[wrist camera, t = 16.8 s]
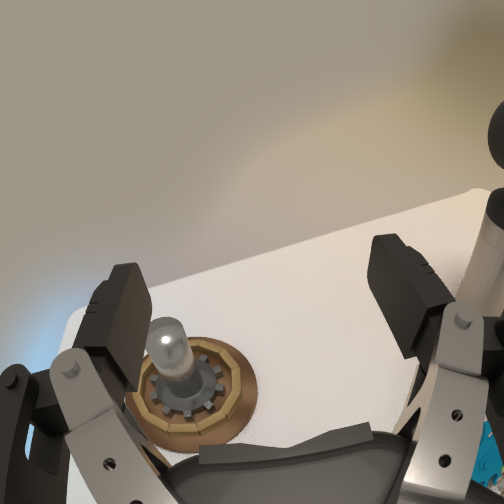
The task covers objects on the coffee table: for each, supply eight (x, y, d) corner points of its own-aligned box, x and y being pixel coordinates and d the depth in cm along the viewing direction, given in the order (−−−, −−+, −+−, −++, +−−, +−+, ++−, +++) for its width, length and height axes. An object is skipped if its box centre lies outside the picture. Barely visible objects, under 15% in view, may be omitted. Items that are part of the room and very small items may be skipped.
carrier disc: (174, 327, 45) (169, 315, 44) (278, 364, 39) (278, 353, 37) (105, 412, 33) (96, 402, 32) (216, 477, 26) (211, 471, 25)
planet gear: (179, 350, 40) (155, 291, 34) (238, 373, 37) (225, 314, 30) (139, 401, 34) (101, 348, 27) (200, 434, 30) (172, 388, 24)
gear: (429, 496, 19) (478, 414, 20) (420, 471, 25) (460, 399, 26) (499, 502, 16) (544, 427, 16) (484, 481, 21) (522, 414, 22)
